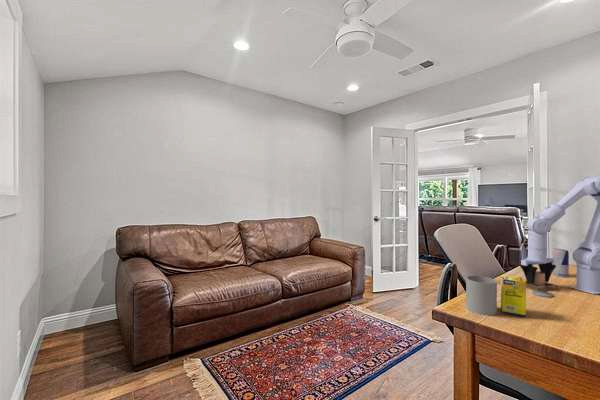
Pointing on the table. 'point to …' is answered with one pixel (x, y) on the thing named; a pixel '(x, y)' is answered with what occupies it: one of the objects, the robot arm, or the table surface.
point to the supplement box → (513, 295)
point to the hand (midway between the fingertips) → (537, 282)
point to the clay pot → (539, 279)
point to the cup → (481, 295)
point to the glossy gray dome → (542, 293)
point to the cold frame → (542, 287)
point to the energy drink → (561, 262)
